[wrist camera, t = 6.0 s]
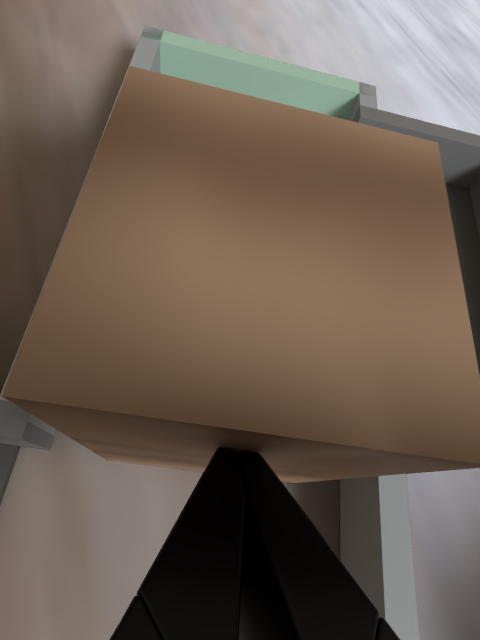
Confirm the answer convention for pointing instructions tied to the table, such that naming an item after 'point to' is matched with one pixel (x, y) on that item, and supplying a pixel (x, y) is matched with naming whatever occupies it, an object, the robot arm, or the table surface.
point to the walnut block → (256, 294)
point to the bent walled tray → (475, 263)
